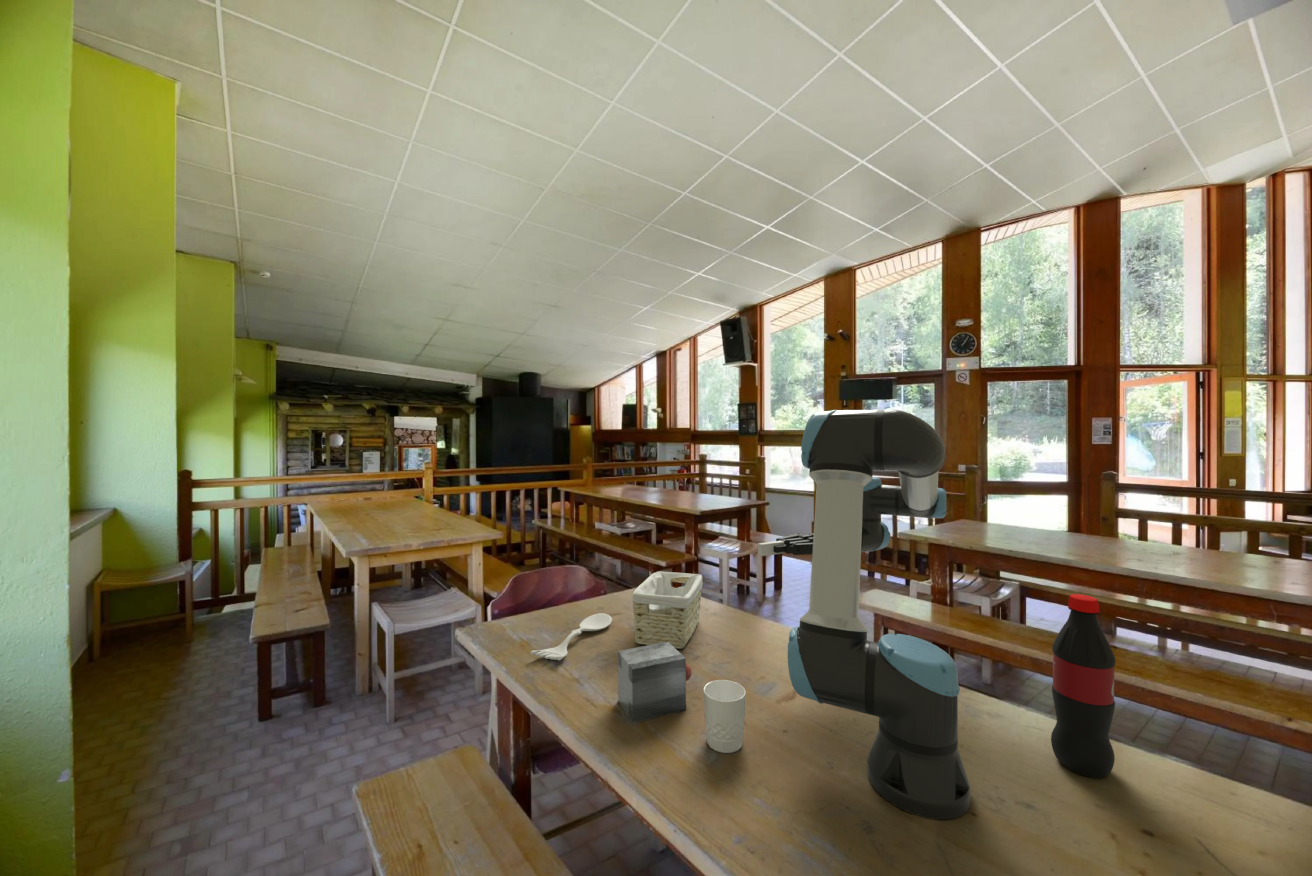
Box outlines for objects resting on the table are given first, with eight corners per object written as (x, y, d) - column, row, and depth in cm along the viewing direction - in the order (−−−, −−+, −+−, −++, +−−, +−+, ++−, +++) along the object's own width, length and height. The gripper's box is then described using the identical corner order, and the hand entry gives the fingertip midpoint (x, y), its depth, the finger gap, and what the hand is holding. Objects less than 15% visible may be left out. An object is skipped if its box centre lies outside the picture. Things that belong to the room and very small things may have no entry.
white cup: (745, 758, 90) (745, 703, 90) (701, 753, 92) (701, 699, 91) (746, 732, 98) (746, 681, 98) (705, 727, 99) (705, 677, 99)
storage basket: (654, 615, 160) (654, 569, 159) (704, 620, 155) (704, 573, 155) (630, 646, 137) (629, 593, 136) (687, 653, 132) (687, 598, 132)
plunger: (686, 675, 113) (686, 657, 113) (694, 683, 109) (694, 665, 109) (630, 687, 108) (630, 669, 107) (636, 696, 104) (636, 677, 104)
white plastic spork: (529, 664, 127) (528, 650, 127) (591, 619, 157) (591, 608, 157) (559, 670, 124) (559, 656, 124) (617, 623, 153) (617, 612, 153)
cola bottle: (1114, 765, 88) (1116, 595, 87) (1114, 790, 82) (1116, 608, 81) (1053, 744, 94) (1055, 585, 93) (1048, 767, 87) (1050, 596, 87)
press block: (668, 689, 114) (668, 641, 114) (685, 710, 106) (685, 658, 105) (618, 700, 109) (618, 651, 109) (632, 723, 101) (632, 669, 101)
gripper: (856, 561, 121) (777, 572, 111) (818, 549, 133) (744, 559, 123) (856, 530, 121) (777, 539, 111) (818, 521, 133) (744, 528, 123)
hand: (759, 549), depth 117 cm, fingers closed
